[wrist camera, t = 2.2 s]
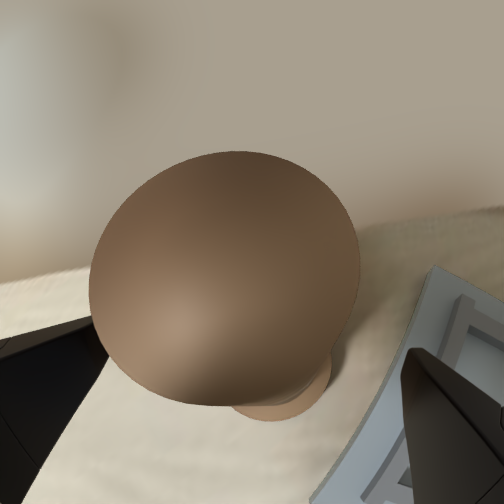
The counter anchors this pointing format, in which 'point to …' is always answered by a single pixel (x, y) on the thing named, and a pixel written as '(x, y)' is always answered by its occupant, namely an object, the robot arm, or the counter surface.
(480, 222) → the counter surface
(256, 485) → the counter surface
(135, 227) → the flanged spindle
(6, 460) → the robot arm
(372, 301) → the counter surface
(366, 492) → the base plate
